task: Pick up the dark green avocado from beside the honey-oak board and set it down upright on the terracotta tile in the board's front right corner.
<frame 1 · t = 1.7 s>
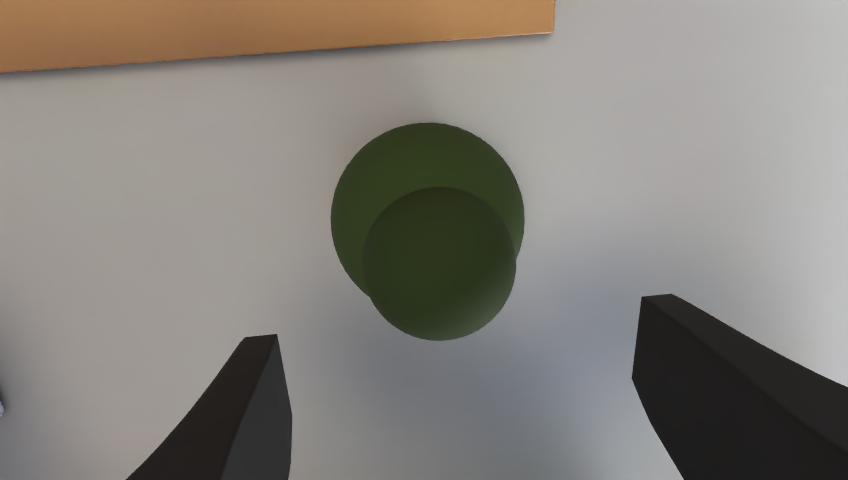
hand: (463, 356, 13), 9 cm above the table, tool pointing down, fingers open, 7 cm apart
avocado: (417, 181, 21), on the table
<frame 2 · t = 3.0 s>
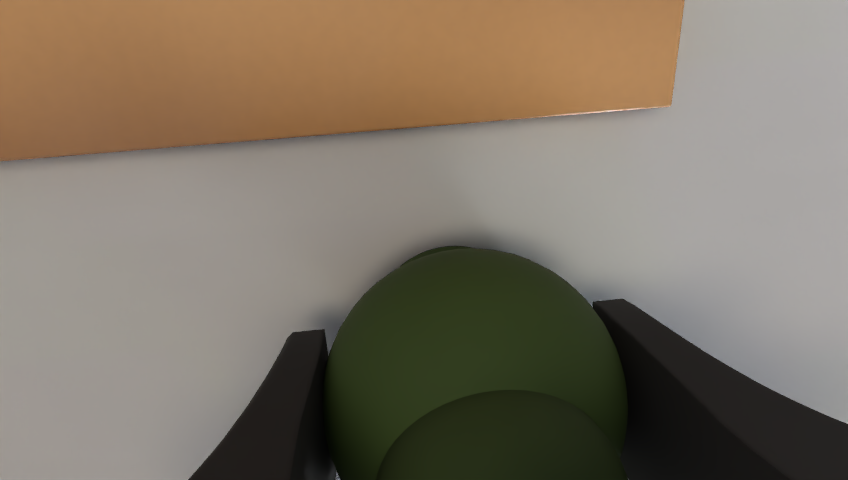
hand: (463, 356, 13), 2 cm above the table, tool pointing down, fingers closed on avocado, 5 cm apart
avocado: (449, 309, 15), on the table, touching gripper
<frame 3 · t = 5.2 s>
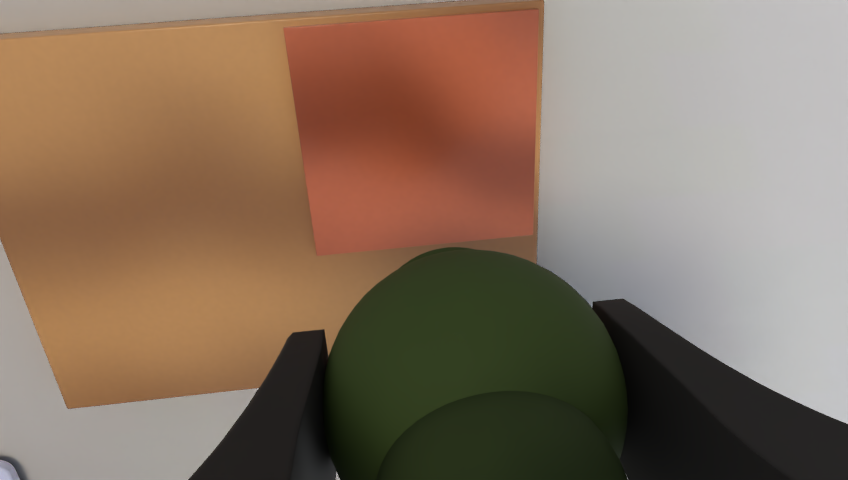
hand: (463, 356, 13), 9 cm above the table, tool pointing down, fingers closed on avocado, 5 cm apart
avocado: (449, 310, 15), point 7 cm above the table, touching gripper
board: (282, 213, 21), on the table
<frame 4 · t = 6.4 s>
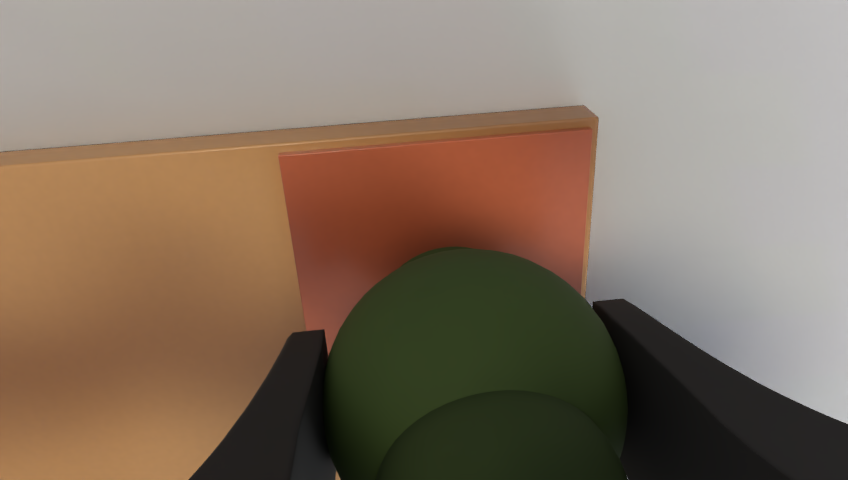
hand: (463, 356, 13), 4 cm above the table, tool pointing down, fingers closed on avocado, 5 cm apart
avocado: (449, 309, 15), point 3 cm above the table, touching gripper
board: (277, 349, 18), on the table
when the fingers open (3 cm above the table, at t = 7.4 s): avocado stays where it is, resting on board.
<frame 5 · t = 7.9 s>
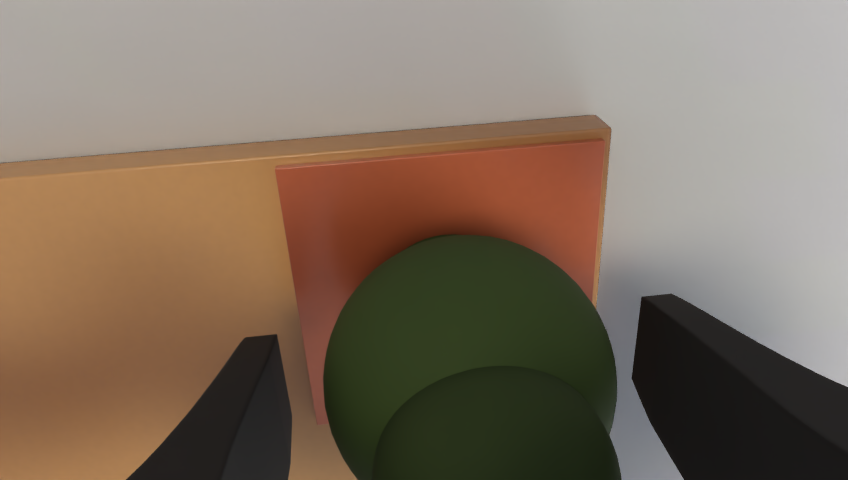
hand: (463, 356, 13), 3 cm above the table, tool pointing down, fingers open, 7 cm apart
avocado: (446, 296, 15), point 1 cm above the table, touching board
board: (274, 367, 17), on the table
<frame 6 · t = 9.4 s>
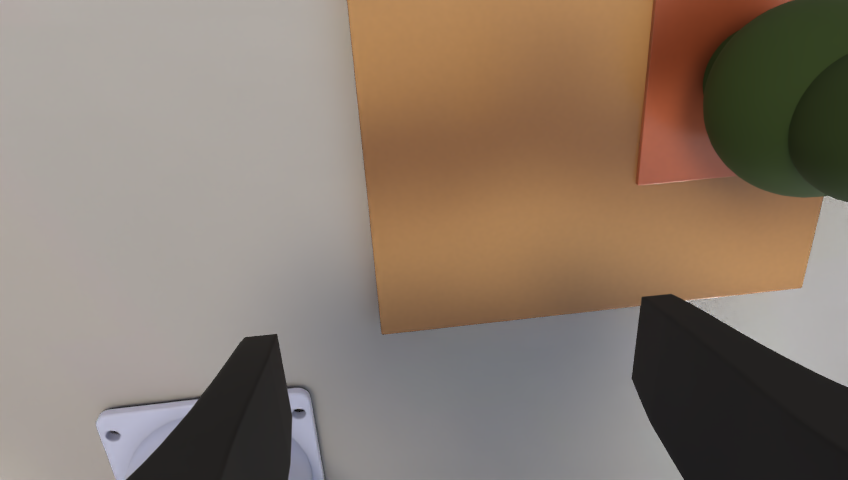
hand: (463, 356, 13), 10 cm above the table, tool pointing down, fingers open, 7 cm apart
avocado: (751, 75, 21), point 1 cm above the table, touching board
board: (598, 148, 23), on the table
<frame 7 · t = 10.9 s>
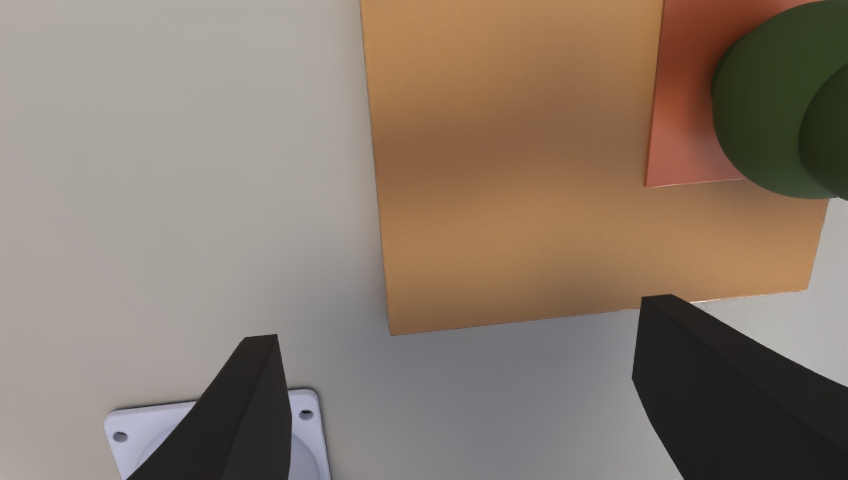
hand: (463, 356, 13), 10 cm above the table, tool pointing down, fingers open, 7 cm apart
avocado: (758, 79, 21), point 1 cm above the table, touching board
board: (606, 150, 23), on the table
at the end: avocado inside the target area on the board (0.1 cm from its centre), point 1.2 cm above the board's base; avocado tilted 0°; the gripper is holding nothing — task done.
